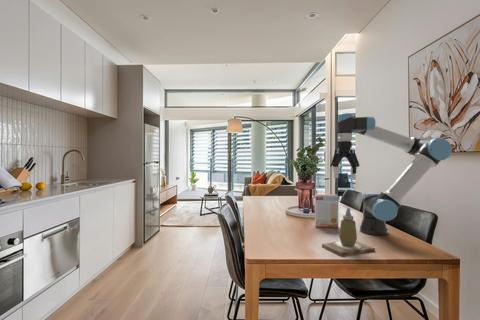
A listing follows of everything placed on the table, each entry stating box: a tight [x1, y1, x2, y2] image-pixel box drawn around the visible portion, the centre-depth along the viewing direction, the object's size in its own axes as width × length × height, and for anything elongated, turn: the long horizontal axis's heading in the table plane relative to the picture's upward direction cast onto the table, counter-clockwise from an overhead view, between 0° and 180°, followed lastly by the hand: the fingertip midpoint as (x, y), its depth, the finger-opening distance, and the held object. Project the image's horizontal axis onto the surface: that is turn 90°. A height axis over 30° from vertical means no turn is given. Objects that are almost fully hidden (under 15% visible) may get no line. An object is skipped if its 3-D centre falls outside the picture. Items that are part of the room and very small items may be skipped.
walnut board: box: [321, 240, 376, 257], centre depth 138 cm, size 20×14×2 cm
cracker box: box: [314, 193, 339, 229], centre depth 181 cm, size 14×6×21 cm, turn 84°
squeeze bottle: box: [339, 207, 358, 246], centre depth 138 cm, size 8×8×18 cm
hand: (344, 178), depth 159 cm, fingers open, 13 cm apart
